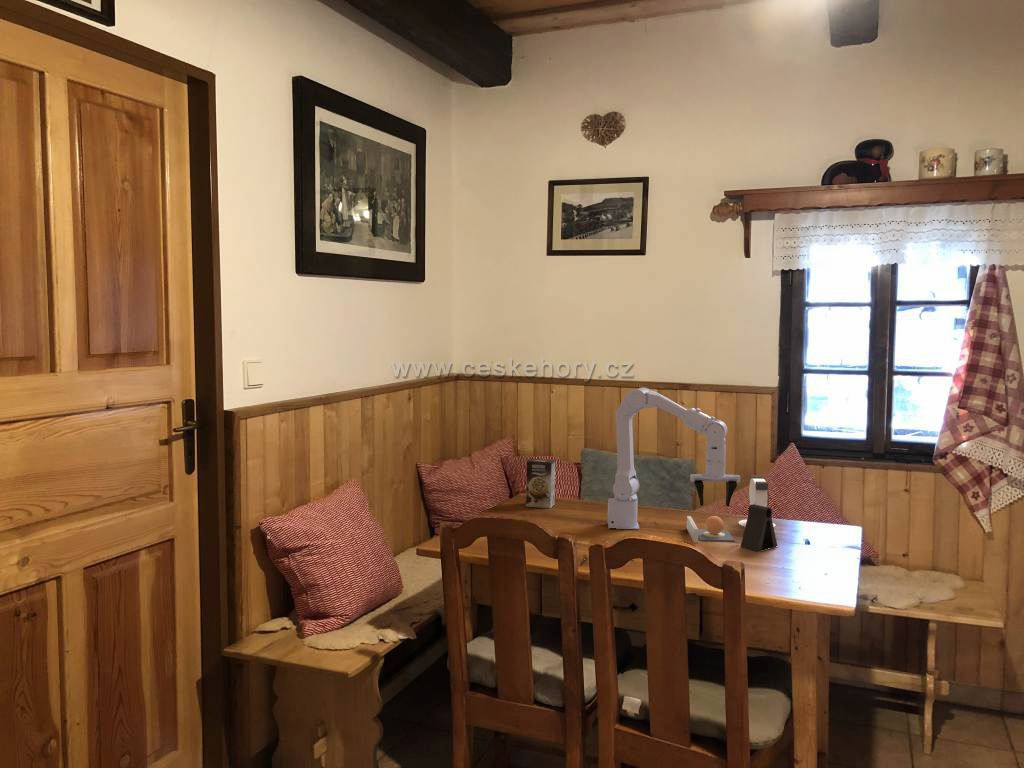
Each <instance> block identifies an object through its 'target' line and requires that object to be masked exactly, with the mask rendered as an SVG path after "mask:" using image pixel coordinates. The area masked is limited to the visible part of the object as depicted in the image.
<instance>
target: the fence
mask: <svg viewBox="0 0 1024 768" xmlns="http://www.w3.org/2000/svg"><path fill="white" fill-rule="evenodd" d="M698 529H699V528H698V526H697V525H696V523H695V521H694V519H693V517H692V516H691V515H687V516H686V531H687V532H688V534H689V536H690V538H691V540H692V542H693V543H695V544H696V543H697V544H699V538H698Z"/></svg>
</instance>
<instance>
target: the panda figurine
mask: <svg viewBox="0 0 1024 768" xmlns="http://www.w3.org/2000/svg"><path fill="white" fill-rule="evenodd" d="M749 480H750V481H749V490H748V491H749V492H748V493H749V496H748V497H749V506H750V505H753V504H755V505H759V506H763V507H768V504H769V499H770V498H769V497H770V496H769V495H770V493H769V482H768V481H766V479H764V478H763V476H762V475H750V477H749ZM746 522H747V519H742V520H741V519H740V520H739V521H738V525H739V526H740V525H741V527H743V526H744V527H743V528H745V526H746ZM775 526H777V525H776V523H774V522H773V527H775ZM775 528H776V527H775Z"/></svg>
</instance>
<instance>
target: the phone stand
mask: <svg viewBox="0 0 1024 768" xmlns="http://www.w3.org/2000/svg"><path fill="white" fill-rule="evenodd" d="M747 511H748V512H747V513H748V514H747V515H748V516H747V519H746V520H747V522H746V526H745V527H744V530H743V535H742V539H741V542H740V548H743V549H747V550H750V551H753V550H754V551H753V552H758V551H760V552H762V551H761V550H764V551H766V550H765V549H767V550H769V549H768V548H772V547H776V546H777V547H778V542H777V537H776V532H775V528H774V527H773V523H774V522H773V518H772V516H773V510H772V508H770V507H768V506H767V507H763V506H759V505H755V504H753V505H750V504H749V506H748V510H747ZM777 547H776V548H777ZM772 549H773V548H772ZM758 553H759V552H758Z"/></svg>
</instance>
